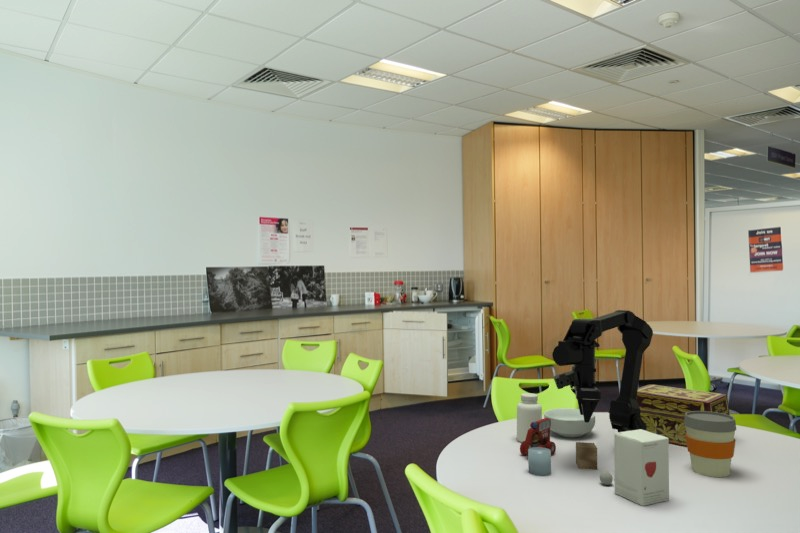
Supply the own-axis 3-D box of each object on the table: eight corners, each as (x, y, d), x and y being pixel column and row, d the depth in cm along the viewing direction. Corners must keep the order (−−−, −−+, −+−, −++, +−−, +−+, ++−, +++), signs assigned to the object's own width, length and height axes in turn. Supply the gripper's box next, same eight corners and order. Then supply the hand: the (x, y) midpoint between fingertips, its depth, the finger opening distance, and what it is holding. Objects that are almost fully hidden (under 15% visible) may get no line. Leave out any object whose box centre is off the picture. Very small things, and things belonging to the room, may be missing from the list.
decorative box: (624, 435, 190) (623, 390, 190) (648, 424, 202) (647, 383, 202) (712, 453, 169) (711, 403, 170) (733, 440, 182) (732, 394, 182)
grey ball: (612, 482, 145) (612, 470, 145) (612, 487, 142) (612, 474, 142) (599, 481, 146) (599, 469, 146) (599, 485, 143) (599, 473, 143)
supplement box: (642, 507, 130) (641, 442, 130) (613, 493, 138) (612, 432, 139) (670, 500, 134) (669, 437, 134) (641, 487, 142) (640, 428, 142)
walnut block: (594, 463, 160) (593, 442, 160) (597, 469, 155) (597, 448, 155) (576, 463, 161) (575, 442, 161) (578, 469, 156) (578, 447, 156)
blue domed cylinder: (551, 469, 156) (551, 448, 156) (550, 477, 150) (549, 454, 150) (529, 467, 158) (529, 446, 158) (527, 474, 152) (527, 452, 152)
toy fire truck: (515, 457, 167) (515, 421, 167) (539, 448, 175) (538, 414, 176) (536, 462, 162) (535, 426, 162) (559, 453, 170) (558, 418, 170)
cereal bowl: (554, 425, 202) (554, 405, 202) (602, 432, 192) (601, 411, 193) (536, 436, 188) (536, 415, 189) (586, 444, 179) (586, 422, 179)
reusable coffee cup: (731, 466, 157) (730, 412, 157) (742, 481, 145) (741, 423, 146) (681, 461, 161) (680, 409, 162) (688, 476, 149) (687, 419, 150)
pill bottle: (542, 445, 178) (542, 397, 179) (516, 443, 180) (516, 396, 180) (541, 438, 186) (541, 392, 186) (516, 436, 188) (516, 391, 188)
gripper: (552, 358, 171) (552, 409, 171) (558, 367, 153) (558, 424, 153) (590, 359, 169) (591, 411, 169) (601, 368, 151) (601, 427, 150)
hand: (584, 418), depth 160 cm, fingers open, 9 cm apart
